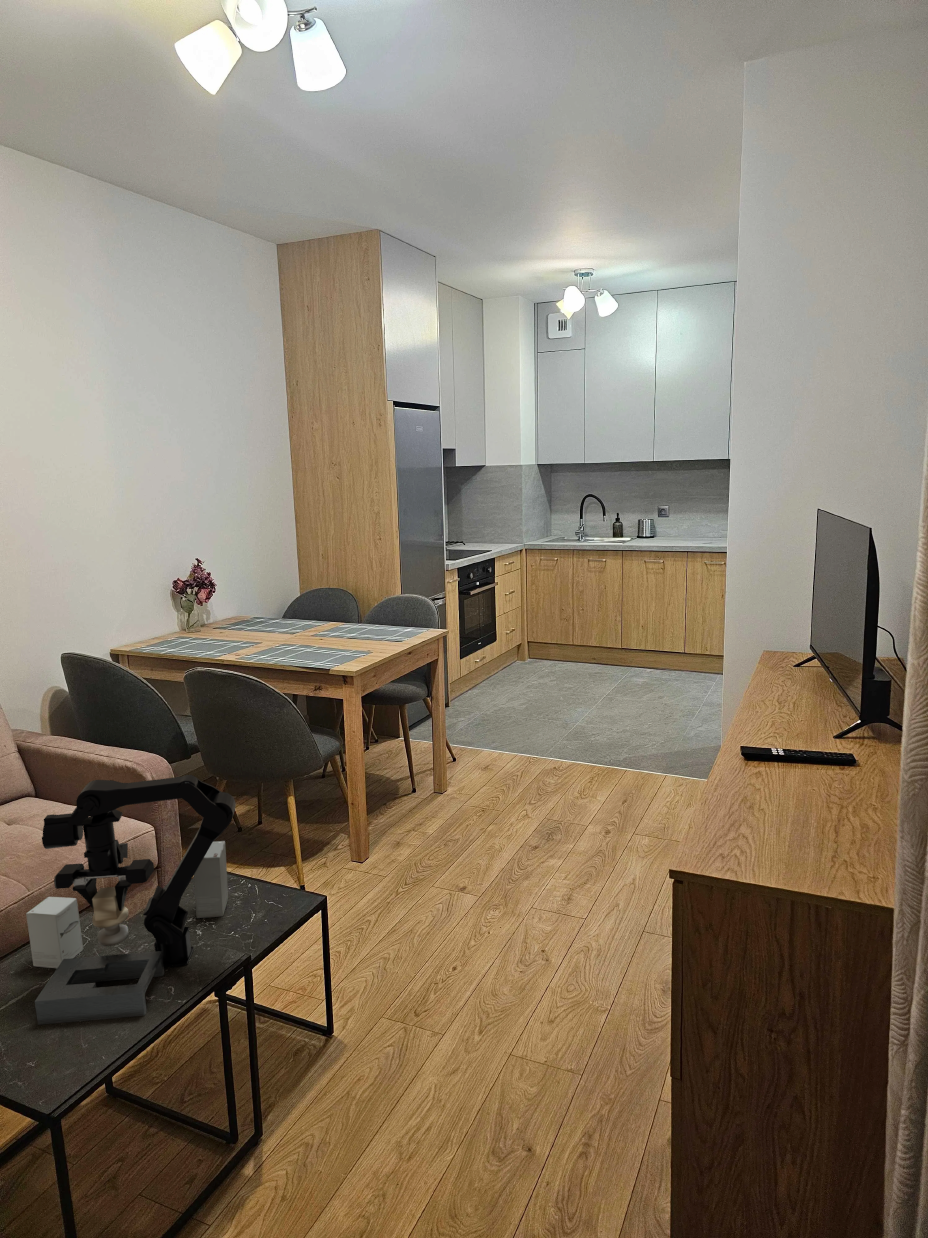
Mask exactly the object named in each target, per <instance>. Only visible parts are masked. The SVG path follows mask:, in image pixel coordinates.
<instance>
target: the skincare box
mask: <svg viewBox="0 0 928 1238" xmlns="http://www.w3.org/2000/svg"><path fill="white" fill-rule="evenodd" d="M226 849H227V848H226V841H225V840H221V841H213V843H212V844H211V846H210V848H209V849H208V851H207V853H206V855H205V856H204V858H203V860H202V862H201V863H200V865H199V867H198V869H197V871H196V872H195V874H194V876H193V884H194V886H193V887H194V896H195V897H194V898H195V899H194V900H195V902H194V903H195V915H196V919H200V918H201V919H203V918H204V919H205V918H215V917H216V918H217V917H224V914H225V911H226V907H227V903H228V900H229V890H228V870H227V869H228V867H227V854H226V853H227V851H226Z"/></svg>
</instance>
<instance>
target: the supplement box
mask: <svg viewBox="0 0 928 1238" xmlns="http://www.w3.org/2000/svg"><path fill="white" fill-rule="evenodd" d="M25 916H26V924H27V930H28V935H29V943H30V944H29V945H30V949H31V950H30V952H31V958H32V964H33V965H32V966H33V967H38V968H48V969H49V968H50V969H57V968H58V966H59V965H60V963H61V962H62V961H63V959H71V958H76V956H78V955H79V954H80V953H81V952H82V951H84V945H83V938H82V930H81V923H80V913H79V906H78V899H77V898H75V897H63V896H62V897H61V896H47V897H46V898H45V899H43V900H42V901H41V902H40V903H38V904H37V905H35V906H34V907H33V908H32V909H30V910H29V911H28V912H26V913H25Z"/></svg>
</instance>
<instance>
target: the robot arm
mask: <svg viewBox="0 0 928 1238" xmlns="http://www.w3.org/2000/svg"><path fill="white" fill-rule="evenodd" d="M181 799H182V800H184V801H185V802H186V803H187V804H188V805H189V806H190V807H191V808H192V809H193V810H194V812H196V813H197V814H198V815H199V816H201V817H202V820H201V823H200V825H199V829H198V830H197V831H196V834H195V836H194V837H193V839H192V841H191V842H190V845H189V846H188V848H187V850H186V851H185V854H183V857H182V858H181V861H180V862H179V864H178V865H177V867H176V869H175V871H174V872H173V873H172V876H171V878H170V880H169V882H168V883H167V884H166V885H164V887H161V886H160V885H158V884H157V885H156V888H155V890H154V893H153V895H152V896H151V897H150V898H149V899H148V902H146V906H145V909H144V911H143V914H142V916H143V917H144V916H145V917H144V920H143V925H144V928H145V929H146V930H147V932H149V933H150V934H151V935H152V936H153V937H154V940H155V941H154V943H153V945H154V946H153V947H154V952H155V951H162V955H163V964H164V968H168V967H170V968H171V967H180V966H181V967H182V966H187V965H188V964H189V961H190V959H191V957H192V955H193V952H194V950H195V949H194V946H192V945H191V933H190V927H189V926H186V923H187V920H188V915H189V912H188V911H187V910H186V909H184V908H183V907H182V906H180V902H181V900H182V897H183V895H184V893H185V891H186V890H187V888H188V886H189V885H190V883H191V881H192V880H193V879H194V874H195V872H196V871H197V869H198V867H199V865H200V863H201V862H202V860H203V858H204V856H205V855H206V853H207V851H208V849H209V848H210V846H211V844H212V843H213V842H215V841H216V839H217V838H218V837H220V836H221V835H222V834H223V832H225V830H226V829H227V828H228V827H229V825H230V824H231V823H232V821H233V818H234V813H235V811H236V810H235V809H236V806H237V803H236V800H235V798H234V796H233V795H231V794H230V793H229V792H226V791H221V790H220V789H218V788H217V787H215V786H214V785H212V784H210V783H207V782H204V781H202V780H200V779H199V778H198V777H197V776H194V775H193V774H186V775H182V776H177V777H168V778H166V777H165V778H159V779H158V778H157V779H149V780H142V781H134V782H120V781H117V780H108V779H95V780H91V781H90V782H88V783H87V784H85V786H84V788H83V789H82V790H81V792H80V793H79V795H78V796H77V797H76V801H75V803H76V805H75V806H76V807H75V808H74V810H73V811H72V813H71V812H70V813H63V814H47V815H46V816H45V817H44V818H43V828H42V836H41V842H42V846H43V848H44V849H45V850H50V849H52V850H53V849H58V848H59V849H60V848H65V847H66V848H68V847H75V846H77V844H78V842H79V841H82V839H83V837H84V843H85V851H84V853H83V857H84V859H86V860H87V867H88V868H86V869H85V865H84V864H83V863H67V864H64V865H63V867H62V868H61V869H60V870H59V871H58V872H57V873H56V875H54V878H53V882H54V885H53V886H54V888H55V889H57V890H58V889H59V890H60V889H70V888H71V887H72V885H73V887H72V891H73V892H77V893H78V894H79V895H80V896H81V897H82V898H83V899H85V901H86V902H87V903H88V904H89V906H90V907H91V908H92V909H93V910H94V908H93V901H92V898H93V897H94V896H95V895H96V893H97V892H98V888H97V879H105V878H107V879H108V878H118V881H117V883H116V884H115V886H114V887H115V891H116V897H117V904H118V908H119V911H122V910H123V907H124V906H125V903H126V898H127V894H128V889H129V888H130V887H131V886H132V885H134V884H144V883H146V882H148V880H149V878H150V877H151V875H152V874H153V873H154V872H155V864H154V862H153V861H152V860H151V859H150V858H143V859H142V858H141V859H134V860H132V862H131V863H130V864H129V865H125V866H120V864H123V862H124V859H128V858H129V857H128V854H129V853H128V850H129V849H128V848H129V847H128V845H129V844H128V842H121V843H120V842H119V839H116V835H115V828H114V823H118V822H120V820H121V819H122V816H123V814H124V812H123V811H120V810H118V809H120V808H122V807H126V806H131V805H139V804H147V803H156V802H165V801H173V800H181Z"/></svg>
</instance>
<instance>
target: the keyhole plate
mask: <svg viewBox="0 0 928 1238" xmlns="http://www.w3.org/2000/svg"><path fill="white" fill-rule="evenodd" d="M164 975H165V967H164V964H163V955H162V951H155V950H154V951H144V952H134V953H133V952H132V953H122V954H121V953H120V954H109V955H108V954H107V955H98V956H96V955H95V956H86V957H74V958H71V959H63V961H62V962H61V963H60V965H59V966H58V968H55V971H54V973H53V974H52V975H51V977H50V978H49V980H48V981H47V983H46V984H45V986H44V987H43V988H42V990H41V992H40V993H39V994H38V996H36V999H35V1000H34V1007H35V1015H36V1020H37V1025H38V1026H39V1025H40V1026H41V1025H53V1024H62V1023H76V1022H86V1021H96V1020H107V1019H108V1020H109V1019H118V1018H119V1019H121V1018H130V1017H141V1016H142V1017H143V1016H144V1017H145V1016H146V1014H147V1011H148V1009H147V1004H146V1003H147V1002H146V996H145V995H146V991H147V989H148V987H149V985H150V983H151V981H152V980H153V978H157V977H163V976H164ZM131 979H132V980H133V979H134V980H135V979H138V982H137V983H135V984H134V983H133V984H124V985H123V984H122V985H113V986H101V987H97V983H98V982H110V981H111V982H112V981H122V980H131Z"/></svg>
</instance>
